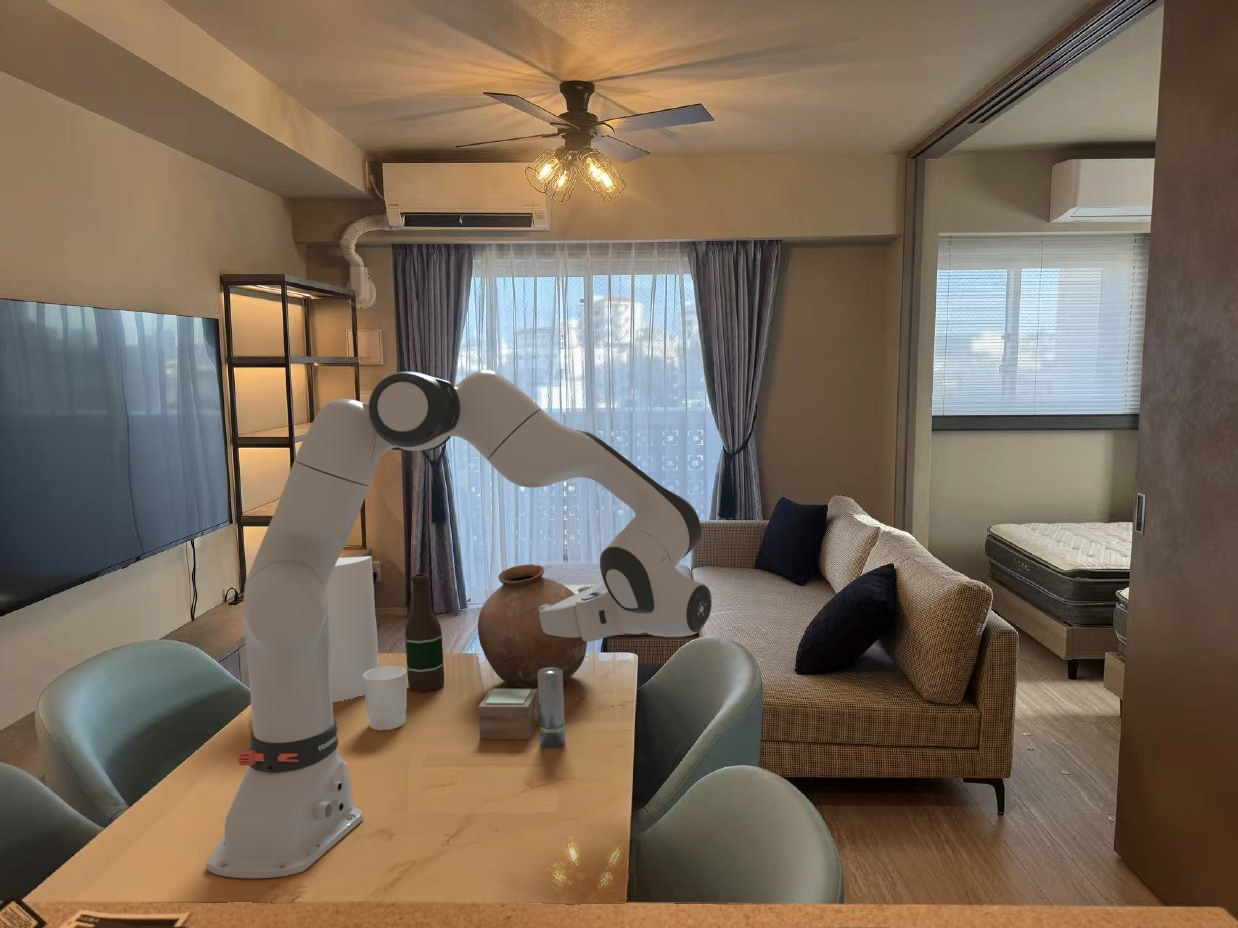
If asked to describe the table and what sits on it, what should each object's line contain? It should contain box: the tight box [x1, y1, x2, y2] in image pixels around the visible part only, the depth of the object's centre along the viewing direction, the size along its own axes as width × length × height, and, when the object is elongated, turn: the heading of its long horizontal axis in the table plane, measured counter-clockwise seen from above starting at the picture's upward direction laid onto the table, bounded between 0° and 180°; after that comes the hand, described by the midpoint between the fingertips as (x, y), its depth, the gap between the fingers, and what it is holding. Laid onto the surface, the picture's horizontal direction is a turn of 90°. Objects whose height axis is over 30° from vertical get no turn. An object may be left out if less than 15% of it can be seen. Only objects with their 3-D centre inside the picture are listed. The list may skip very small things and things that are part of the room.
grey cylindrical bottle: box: [537, 667, 566, 749], centre depth 153 cm, size 5×5×13 cm
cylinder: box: [325, 555, 380, 703], centre depth 184 cm, size 17×17×28 cm
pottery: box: [477, 563, 588, 689], centre depth 183 cm, size 23×23×25 cm
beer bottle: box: [404, 573, 445, 693], centre depth 184 cm, size 8×8×24 cm
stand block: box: [477, 688, 539, 740], centre depth 161 cm, size 9×9×6 cm
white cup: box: [363, 665, 408, 732], centre depth 165 cm, size 8×8×10 cm
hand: (562, 600), depth 148 cm, fingers open, 8 cm apart
